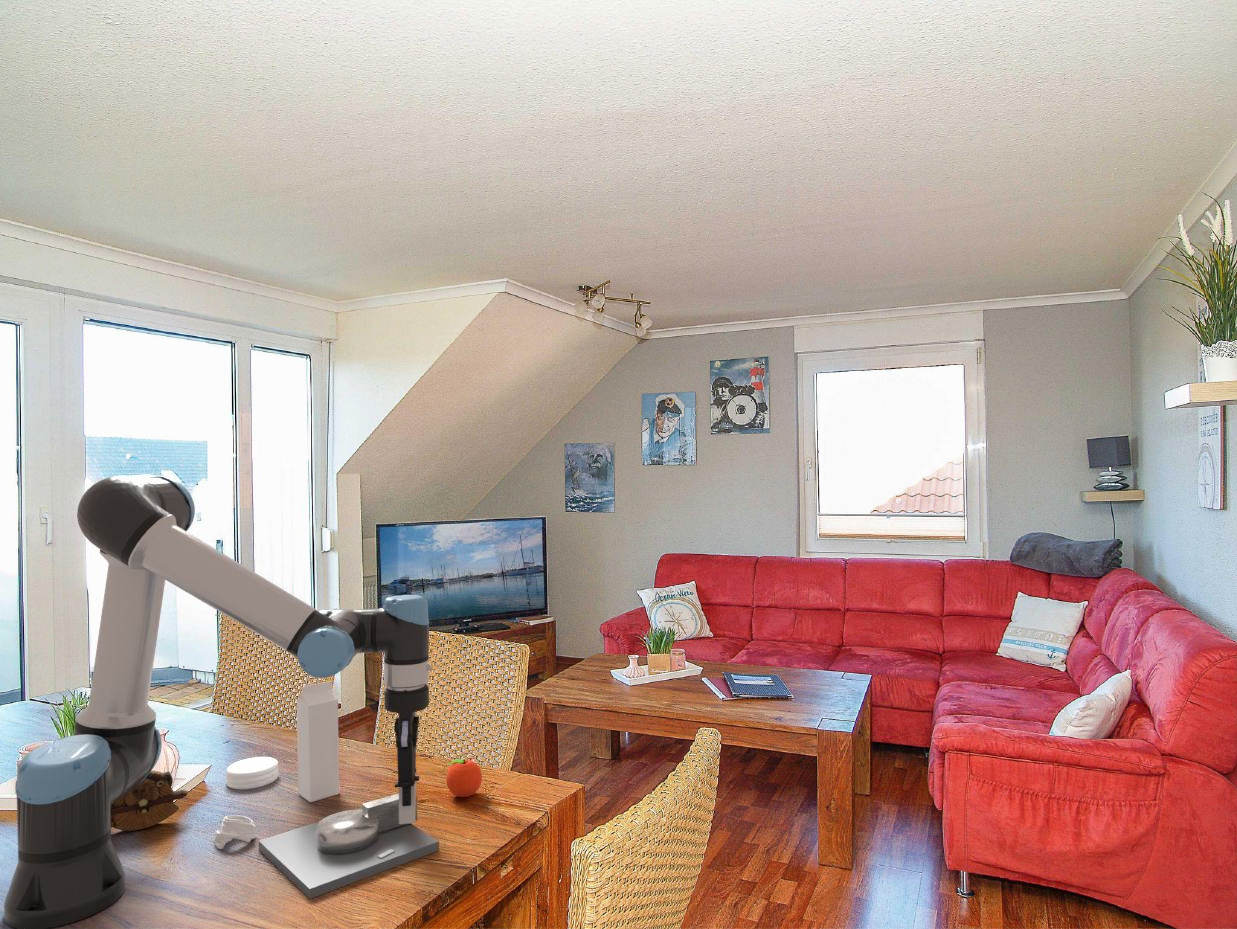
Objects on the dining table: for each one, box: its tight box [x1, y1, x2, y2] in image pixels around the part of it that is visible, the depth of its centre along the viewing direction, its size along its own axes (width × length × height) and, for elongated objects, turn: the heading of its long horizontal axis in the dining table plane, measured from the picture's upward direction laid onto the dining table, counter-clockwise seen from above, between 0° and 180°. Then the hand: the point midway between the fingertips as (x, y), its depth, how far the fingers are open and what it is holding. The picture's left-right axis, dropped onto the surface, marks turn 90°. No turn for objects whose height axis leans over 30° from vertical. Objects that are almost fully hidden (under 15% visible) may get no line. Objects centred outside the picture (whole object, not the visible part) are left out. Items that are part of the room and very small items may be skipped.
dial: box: [317, 781, 418, 854], centre depth 141 cm, size 18×10×7 cm, turn 130°
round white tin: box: [225, 756, 280, 790], centre depth 170 cm, size 10×10×4 cm
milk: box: [296, 680, 340, 803], centre depth 162 cm, size 6×6×22 cm
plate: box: [258, 807, 440, 900], centre depth 139 cm, size 22×22×2 cm
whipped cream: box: [214, 814, 257, 850], centre depth 143 cm, size 8×7×5 cm
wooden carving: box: [111, 770, 189, 832], centre depth 148 cm, size 16×5×10 cm, turn 123°
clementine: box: [443, 759, 483, 798], centre depth 161 cm, size 8×7×7 cm
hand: (407, 821), depth 141 cm, fingers closed
